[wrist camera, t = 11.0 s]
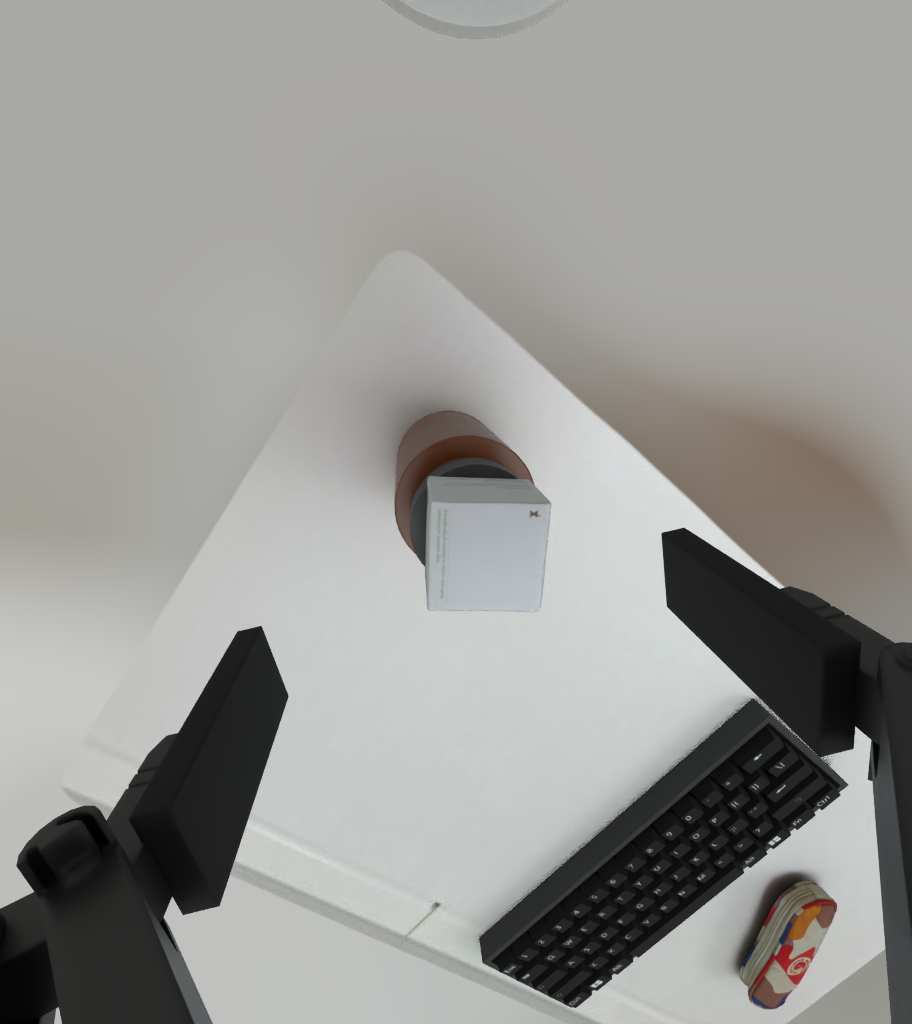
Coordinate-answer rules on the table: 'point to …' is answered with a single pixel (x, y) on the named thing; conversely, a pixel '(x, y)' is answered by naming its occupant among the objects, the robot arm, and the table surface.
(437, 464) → the bottle
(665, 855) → the computer keyboard
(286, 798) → the table surface
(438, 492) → the small box
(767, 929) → the pencil case
